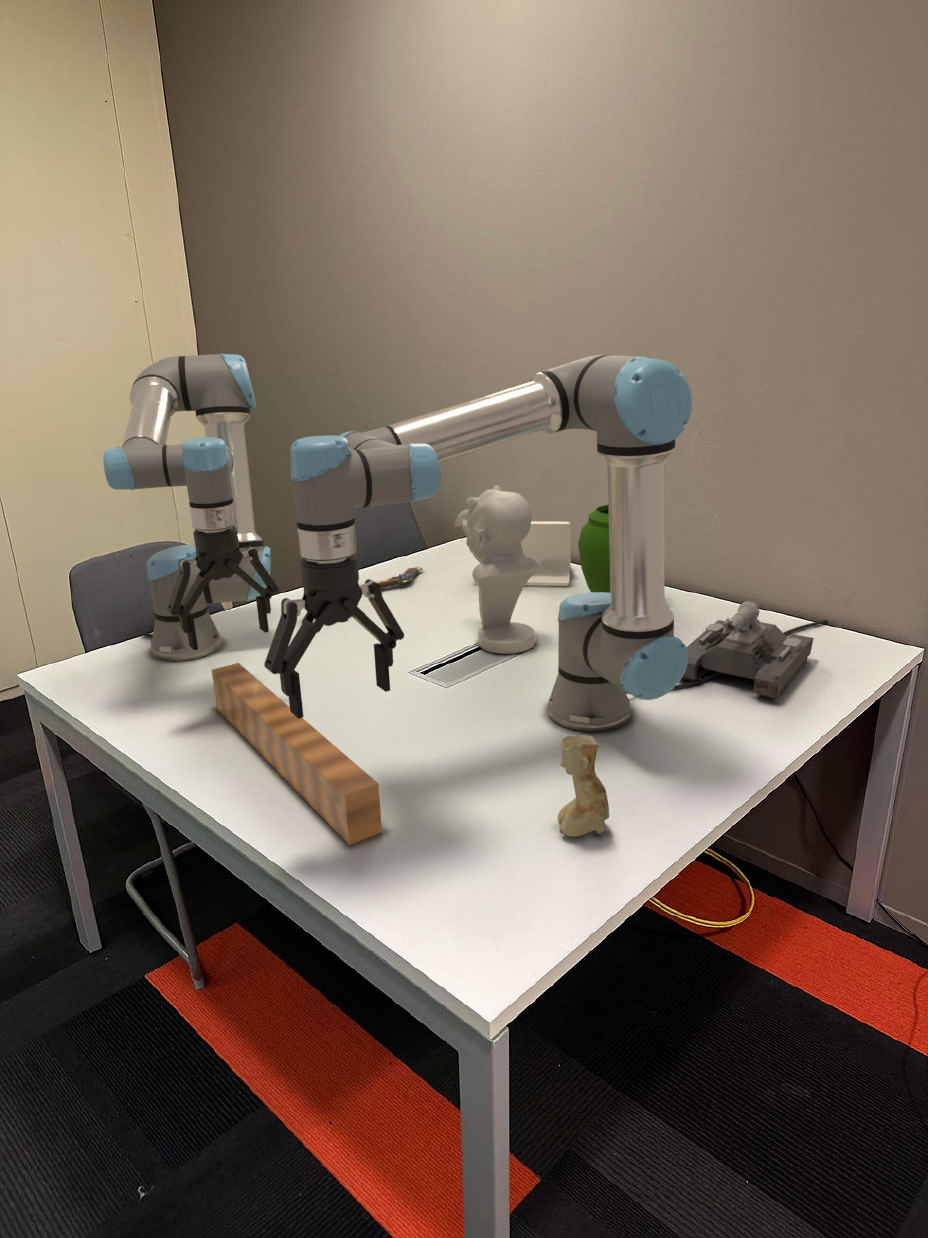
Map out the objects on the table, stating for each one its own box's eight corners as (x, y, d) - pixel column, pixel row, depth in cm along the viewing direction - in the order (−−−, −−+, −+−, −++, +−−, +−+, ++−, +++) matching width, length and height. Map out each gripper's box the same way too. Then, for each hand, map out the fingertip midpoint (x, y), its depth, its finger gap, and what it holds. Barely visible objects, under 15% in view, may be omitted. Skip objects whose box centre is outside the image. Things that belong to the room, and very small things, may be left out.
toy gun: (370, 582, 229) (406, 579, 226) (389, 566, 246) (423, 563, 244) (372, 592, 229) (408, 589, 227) (391, 575, 247) (424, 572, 245)
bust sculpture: (498, 614, 210) (496, 472, 198) (553, 646, 190) (555, 490, 178) (440, 626, 203) (434, 481, 191) (491, 661, 183) (488, 500, 171)
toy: (717, 640, 190) (723, 576, 185) (811, 659, 179) (819, 592, 174) (673, 681, 171) (677, 611, 166) (774, 705, 160) (782, 631, 155)
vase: (599, 587, 227) (601, 497, 218) (668, 600, 216) (673, 505, 208) (562, 608, 212) (564, 513, 204) (634, 623, 202) (639, 523, 193)
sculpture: (554, 820, 127) (555, 731, 122) (601, 816, 128) (604, 727, 122) (563, 843, 122) (564, 751, 116) (612, 839, 122) (616, 746, 117)
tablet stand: (569, 585, 229) (570, 524, 223) (476, 584, 232) (475, 523, 226) (570, 566, 246) (571, 508, 240) (484, 564, 249) (483, 507, 243)
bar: (217, 709, 166) (211, 669, 163) (243, 701, 169) (238, 662, 166) (349, 845, 123) (345, 795, 120) (382, 832, 126) (378, 783, 123)
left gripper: (149, 544, 141) (168, 662, 149) (288, 520, 155) (300, 629, 162) (137, 535, 147) (156, 649, 155) (272, 512, 160) (283, 618, 168)
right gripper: (249, 581, 103) (268, 737, 111) (423, 545, 116) (430, 686, 124) (227, 567, 109) (247, 716, 117) (395, 534, 122) (403, 669, 130)
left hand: (229, 639), depth 158 cm, fingers open, 13 cm apart
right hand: (341, 701), depth 120 cm, fingers open, 13 cm apart
